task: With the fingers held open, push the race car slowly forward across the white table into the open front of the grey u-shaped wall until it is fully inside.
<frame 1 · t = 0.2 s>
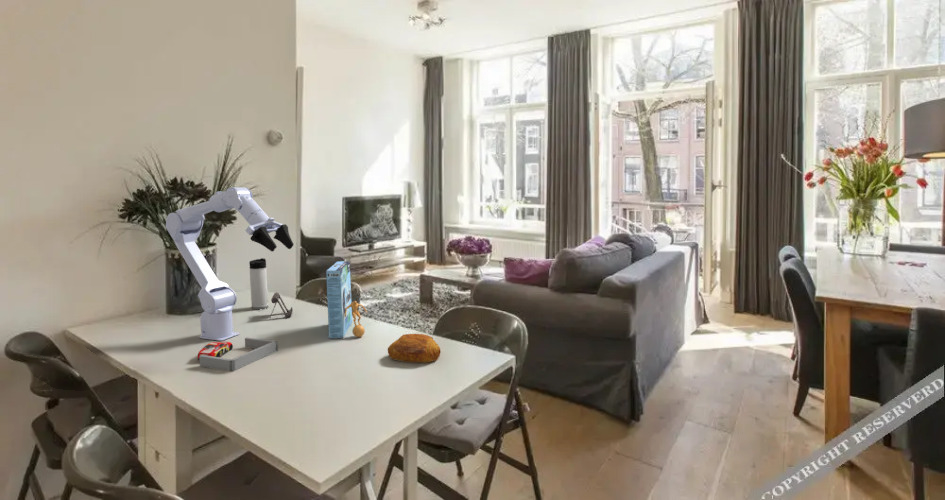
hand: (283, 248, 154), 31 cm above the table, tool tilted 50°, fingers open, 7 cm apart
figurine: (357, 336, 169), on the table
grey u-shaped wall: (239, 358, 148), on the table
blue product box: (341, 330, 176), on the table
portable electronic device stand: (281, 316, 194), on the table
travel mug: (260, 308, 205), on the table
race car: (216, 356, 151), on the table
croissant: (416, 357, 150), on the table
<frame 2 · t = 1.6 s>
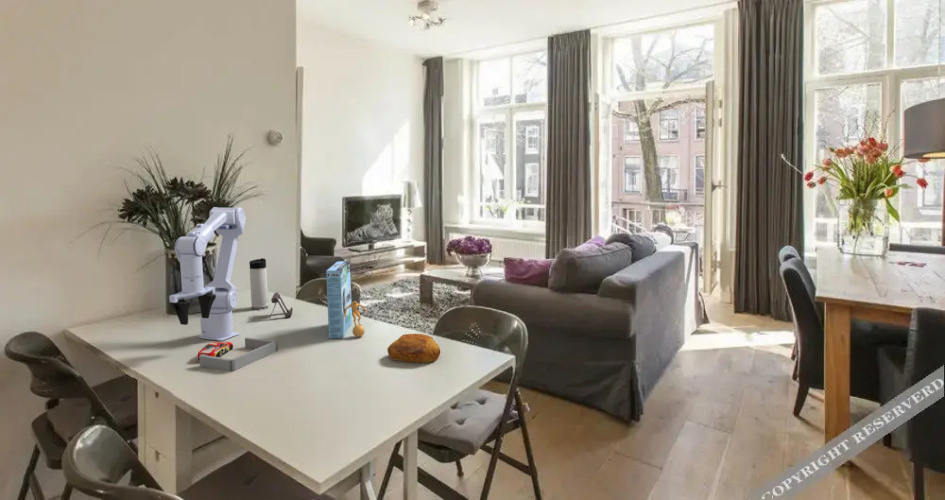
hand: (195, 321, 152), 10 cm above the table, tool pointing down, fingers open, 7 cm apart
nothing on the table moved.
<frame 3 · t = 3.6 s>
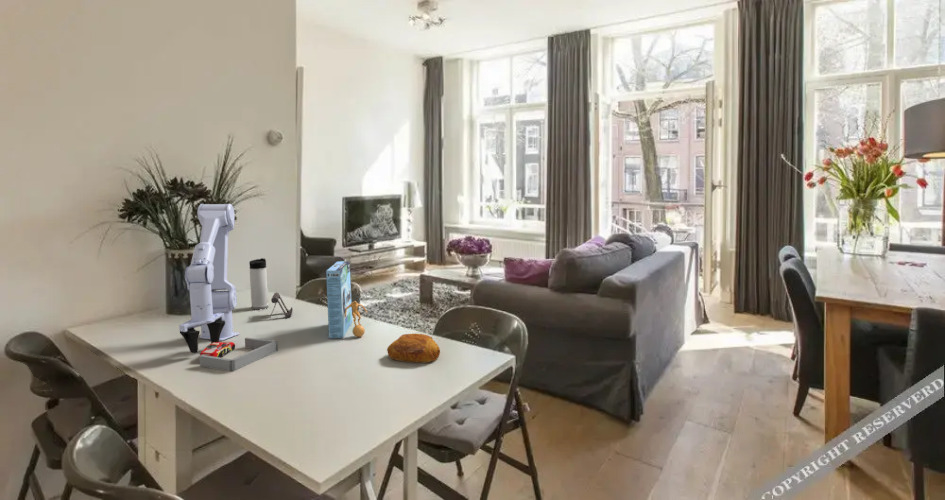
hand: (204, 348, 152), 1 cm above the table, tool pointing down, fingers open, 7 cm apart
nothing on the table moved.
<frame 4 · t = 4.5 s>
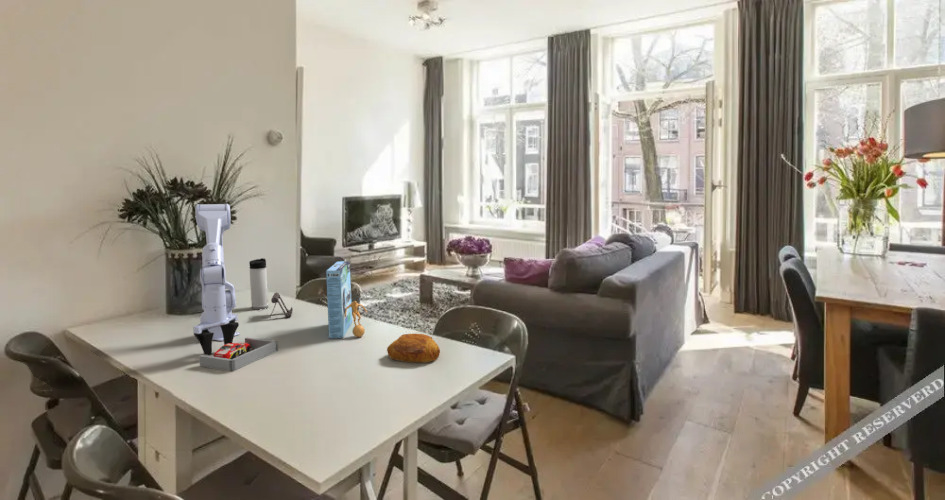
hand: (218, 350, 150), 1 cm above the table, tool pointing down, fingers open, 7 cm apart
race car: (232, 357, 150), on the table, touching gripper
everything else where it was.
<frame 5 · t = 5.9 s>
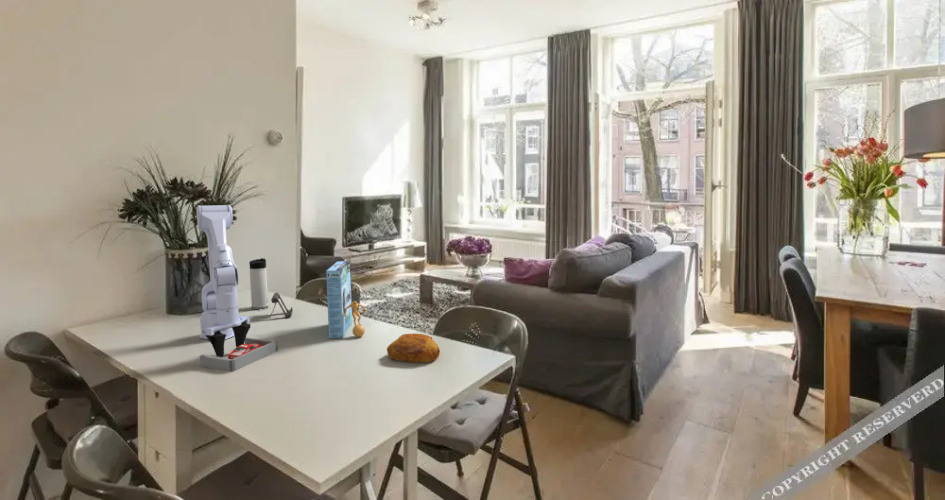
hand: (230, 352, 149), 1 cm above the table, tool pointing down, fingers open, 7 cm apart
race car: (246, 358, 149), on the table
everything else where it was.
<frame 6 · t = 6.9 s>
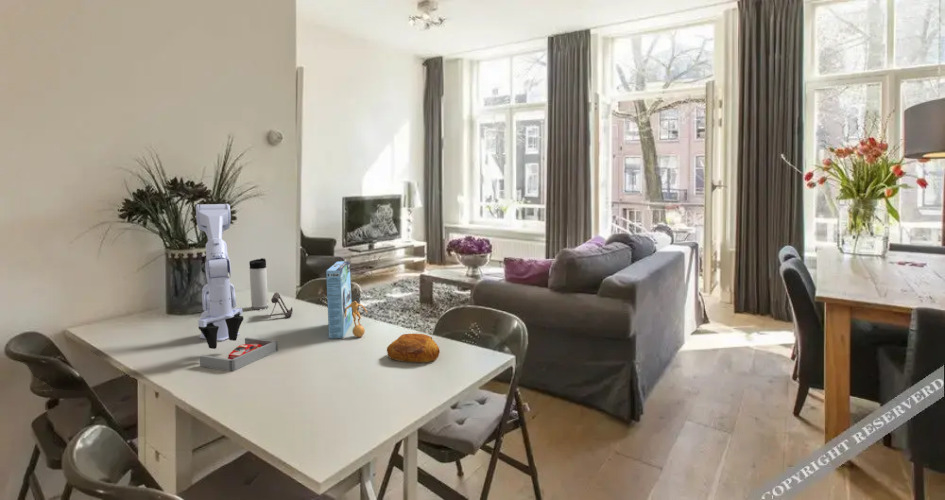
hand: (223, 344, 149), 4 cm above the table, tool pointing down, fingers open, 7 cm apart
nothing on the table moved.
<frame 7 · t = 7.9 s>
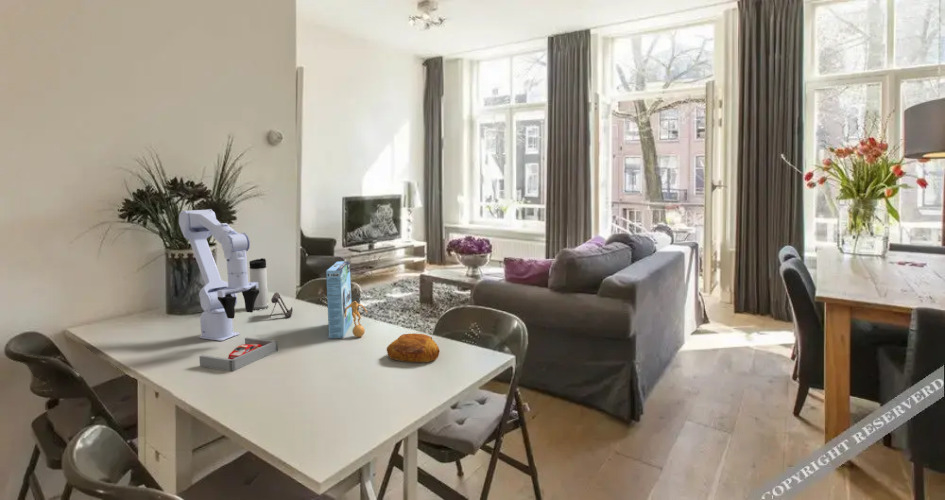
hand: (240, 315, 158), 10 cm above the table, tool pointing down, fingers open, 7 cm apart
nothing on the table moved.
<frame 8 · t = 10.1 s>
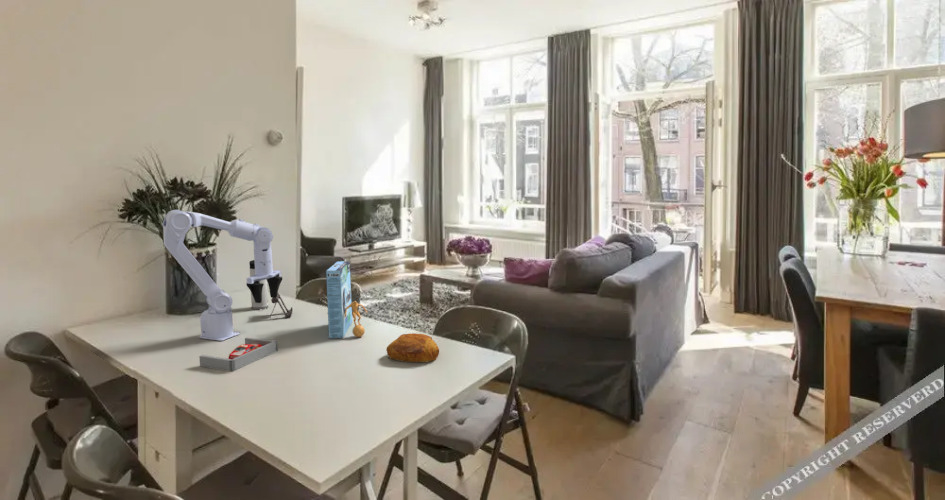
hand: (266, 299, 175), 10 cm above the table, tool pointing down, fingers open, 7 cm apart
nothing on the table moved.
at the end: race car inside the target area on the grey u-shaped wall (1.5 cm from its centre), point -0.5 cm above the grey u-shaped wall's base; race car tilted 2°; the gripper is holding nothing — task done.
